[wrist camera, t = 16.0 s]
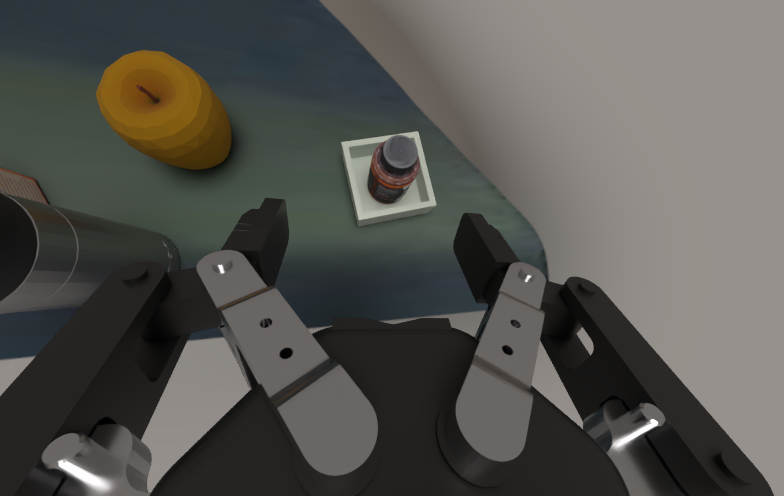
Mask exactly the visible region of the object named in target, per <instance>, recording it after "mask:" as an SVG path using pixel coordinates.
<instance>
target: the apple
mask: <svg viewBox="0 0 784 496" xmlns="http://www.w3.org/2000/svg"><path fill="white" fill-rule="evenodd" d="M96 96H97V100H98V103H99V106H100V110H101V112H102V114H103V116H104V117H105V119H106V120H107V122H108V123H109V125H110V126H111V128H112V129H113V130H114V131H115V132H116V133H117V134H118V135H119V136H120V137H121V138H122V139H123V140H124V141H126V142H127V143H128V144H129V145H130V146H131V147H133V148H135V149H137V150H139V151H140V152H142V153H144V154H146V155H148V156H150V157H152V158H154V159H156V160H158V161H161V162H164V163H167V164H169V165H172V166H176V167H181V168H186V169H191V170H192V169H206V168H211V167H214V166H216V165H218V164H220V163H221V162H223V161H224V160H225V159H226V158H227V157H228V154H229V151H230V148H231V125H230V122H229V118H228V115H227V113H226V111H225V109H224V107H223V105H222V103H221V101H220V100H219V99H218V97H217V96H216V95H215V93H214V92H213V91H212V89H211V88H210V86H209V85H208V84H207V82H206V81H205V80H204V79H203V78H202V77H201V76H200V75H199V74H198V73H196V72H195V71H194V70H192V69H191V68H190V67H188V66H186V65H185V64H183V63H181V62H180V61H178V60H176V59H174V58H173V57H171V56H169V55H168V54H166V53H164V52H158V51H146V50H141V51H137V52H134V53H130V54H127V55H123V56H122V57H121V58H120V59H118V60H117V61H116V62H114V63H113V64H112V65H110V66H109V67H108V68H107V69H105V72H104V74H103V77H102V79H101V82H100V85H99V87H98V90H97V92H96Z"/></svg>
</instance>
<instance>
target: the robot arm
mask: <svg viewBox="0 0 784 496" xmlns="http://www.w3.org/2000/svg"><path fill="white" fill-rule="evenodd" d="M288 239H289V228H288V219H287V209H286V202H285V200H284V199H272V198H265V199H264V201H263V203H262V205H261V207H260V209H251V210H249V211H248V212H246V213H245V214H243V215H242V216H241V218H240V220H239V221H238V224H237V225H236V226H235V228H234V231H232V233H231V234H230V236H229V238H228V239H227V241H226V243H225V244H224V246H223V247H222V249H221V251H217V252H214V253H211V254H209V255H207V256H205V257H204V258H202V259H201V260H200V261H199V262H198V264H197V267H196V268H191V269H186V270H180V271H179V267H180V259H179V255H178V251H177V249H176V248H175V246H174V244H173V243H172V242H171V241H170V240H169V239H167V238H166V237H164V236H163V235H161V234H158V233H156V232H152V231H148V230H145V229H141V228H137V227H134V226H130V225H126V224H122V223H118V222H114V221H111V220H107V219H103V218H99V217H95V216H91V215H88V214H84V213H80V212H76V211H72V210H68V209H65V208H61V207H57V206H53V205H49V204H45V203H42V202H38V201H34V200H29V199H26V198H22V197H18V196H14V195H10V194H6V193H3V192H0V314H4V313H14V312H25V311H36V310H48V309H59V308H70V307H80V308H79V309H78V310H77V312H76V313H75V314H74V315H73V316H72V317H71V318H70V319H69V320H68V322H67V323H66V324H65V325H64V326H63V327H62V328H61V329H60V330H59V332H58V333H57V334H56V335H55V336H54V337H53V338H52V339H51V340H50V342H49V343H48V344H47V345H46V346H45V347H44V348H43V349H42V350H41V352H40V353H39V354H38V355H37V356H36V357H35V358H34V359H33V361H32V362H31V363H30V364H29V365H28V366H27V367H26V368H25V369H24V371H23V372H22V373H21V374H20V375H19V376H18V377H17V378H16V379H15V380H14V382H13V383H12V384H11V385H10V386H9V387H8V388H7V389H6V391H5V392H4V393H3V394H2V395H1V396H0V496H774V495H773V492H772V490H771V488H770V486H769V484H768V483H767V481H766V480H765V478H764V477H763V475H762V474H761V473H760V472H759V470H758V469H757V468H756V467H755V466H754V465H753V463H752V462H751V461H750V460H749V459H748V458H747V457H746V455H745V454H744V453H743V452H742V451H741V450H740V448H739V447H738V446H737V445H736V444H735V443H734V442H733V440H732V439H731V438H730V437H729V436H728V435H727V434H726V432H725V431H724V430H723V429H722V428H721V427H720V425H719V424H718V423H717V422H716V421H715V420H714V419H713V417H712V416H711V415H710V414H709V413H708V412H707V411H706V409H705V408H704V407H703V406H702V405H701V404H700V402H699V401H698V400H697V399H696V398H695V397H694V395H693V394H692V393H691V392H690V391H689V390H688V388H687V387H686V386H685V385H684V384H683V383H682V382H681V380H680V379H679V378H678V377H677V376H676V375H675V374H674V372H672V370H671V369H670V368H669V367H668V365H667V364H666V363H665V362H664V361H663V360H662V359H661V357H660V356H659V355H658V354H657V353H656V352H655V350H654V349H653V348H652V347H651V346H650V345H649V344H648V342H647V341H646V340H645V339H644V338H643V337H642V335H641V334H640V333H639V332H638V331H637V330H636V329H635V327H634V326H633V325H632V324H631V323H630V322H629V321H628V319H627V318H626V317H625V316H624V315H623V314H622V312H621V311H620V310H619V309H618V308H617V307H616V306H615V304H614V303H613V302H612V301H611V300H610V299H609V297H608V296H607V295H606V294H605V293H604V292H603V291H602V290H601V289H600V288H599V287H598V286H597V285H595V284H594V283H592V282H590V281H589V280H586V279H583V278H580V277H570V278H568V279H567V281H566V282H565V284H564V285H560V284H557V283H553V282H549V281H546V279H545V277H544V275H543V274H542V273H541V272H540V271H539V270H538V269H536V268H535V267H533V266H531V265H529V264H526V263H521V262H520V261H519V259H518V258H517V256H516V255H515V254H514V252H513V251H512V249H511V248H510V246H508V244H507V242H506V241H505V240H504V238H503V236H502V235H501V234H500V232H499V231H498V230H497V229H495V228H494V227H493V226H491V225H489V224H488V223H487V221H486V220H485V219H484V217H483V216H482V214H476V213H464V214H463V216H462V218H461V221H460V224H459V227H458V230H457V233H456V236H455V239H454V245H453V248H454V253H455V255H456V257H457V260H458V262H459V264H460V266H461V269H462V271H463V273H464V276H465V278H466V280H467V282H468V285H469V287H470V289H471V292H472V294H473V296H474V299H475V301H476V303H487V304H488V308H487V310H486V312H485V314H484V317H483V319H482V321H481V324H480V326H479V328H478V330H477V333H476V335H475V337H473V336H471V335H469V334H467V333H465V332H463V331H461V330H458V329H455V328H451V325H450V322H449V319H448V318H420V319H416V320H411V321H407V322H403V323H399V324H388V323H384V322H380V321H375V320H371V319H366V318H333V326H332V327H329V328H325V329H323V330H320V331H318V332H315V333H313V334H311V333H310V332H309V330H308V329H307V328H306V327H305V325H304V324H303V323H302V321H301V320H300V319H299V317H298V316H297V315H296V314H295V312H294V311H293V310H292V308H291V307H290V306H289V304H288V303H287V302H286V300H285V299H284V298H283V297H282V295H281V294H280V293H279V291H278V290H277V289H276V288H275V287H274V285H275V282H276V279H277V276H278V273H279V269H280V266H281V263H282V260H283V257H284V254H285V251H286V248H287V244H288ZM217 326H219V328H220V330H221V332H222V334H223V336H224V338H225V339H226V341H227V343H228V345H229V347H230V349H231V351H232V353H233V355H234V357H235V359H236V360H237V363H238V364H239V367H240V369H241V371H242V373H243V376H244V378H245V380H246V382H247V384H248V386H249V388H250V391H249V392H248V393H247V394H246V395H245V396H244V397H243V398H242V399H241V400H240V401H239V402H238V403H237V404H236V405H235V406H234V407H233V408H231V409H230V410H229V412H227V413H226V414H225V415H224V416H223V417H222V418H221V419H220V420H219V421H218V422H217V423H216V424H215V425H214V426H213V427H212V428H211V429H210V430H209V431H208V432H207V433H206V434H205V435H204V436H203V437H202V438H201V439H200V440H199V441H197V442H196V443H195V444H194V445H193V446H192V447H191V448H190V449H189V450H188V451H187V452H186V453H185V454H184V455H183V456H182V457H181V458H180V459H179V460H178V461H177V462H176V463H175V464H174V465H173V466H172V467H171V468H170V469H169V470H168V471H167V472H166V473H165V475H164V476H163V477H162V478H161V480H160V481H159V482H158V483H157V485H156V486H155V488H154V489H153V491H152V492H151V493H148V490H147V478H148V474H149V470H150V467H151V460H152V458H151V452H150V450H149V448H148V447H147V446H146V445H145V444H144V443H143V442H141V439H142V437H143V434H144V432H145V430H146V428H147V426H148V424H149V422H150V419H151V417H152V415H153V413H154V411H155V409H156V406H157V404H158V402H159V400H160V398H161V396H162V394H163V392H164V389H165V387H166V385H167V383H168V380H169V378H170V377H171V374H172V372H173V370H174V368H175V366H176V363H177V362H178V359H179V357H180V355H181V353H182V351H183V349H184V346H185V344H186V342H187V340H188V338H189V336H190V334H191V333H193V332H197V331H201V330H205V329H209V328H213V327H217ZM582 327H583V328H584V329H585V331H586V332H587V334H588V335H589V337H590V338H591V340H592V342H593V345H594V351H593V353H592V355H591V356H590V354H589V353H588V351H587V350H586V348H585V347H584V345H583V344H582V342H581V341H580V339H579V338H578V336H577V332H578V331H579V330H580V329H581V328H582ZM539 341H541V343H542V344H543V346H544V348H545V350H546V352H547V354H548V356H549V358H550V360H551V361H552V364H553V365H554V367H555V369H556V371H557V373H558V375H559V377H560V379H561V381H562V382H563V384H564V386H565V388H566V390H567V392H568V394H569V396H570V398H571V400H572V402H573V403H574V405H575V407H576V409H577V411H578V413H579V415H580V417H581V419H582V421H583V429H582V428H581V427H580V426H578V425H577V424H576V423H575V422H574V421H572V420H571V419H570V418H569V417H568V416H567V415H565V414H564V413H563V412H562V411H561V410H560V409H558V408H557V407H556V406H555V405H554V404H553V403H551V402H550V401H549V400H548V399H547V398H546V397H544V396H543V395H542V394H541V393H540V392H539V391H537V390H536V389H535V388H534V387H533V386H532V385H531V383H532V377H533V373H534V368H535V362H536V357H537V352H538V347H539Z"/></svg>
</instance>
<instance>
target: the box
mask: <svg viewBox="0 0 784 496" xmlns="http://www.w3.org/2000/svg"><path fill="white" fill-rule="evenodd" d="M396 135H404V136H407V137H409V138H410V139H411V140H413V142H414V143H415V144H416V146H417V149H418V156H419V160H420V168H419V172H418V174H417V176H416V178H415V179H414V181H413V182H412V184H411V185H410V187H409V188H408V190H407V191H406V193H405V195H404V196H403V197H402V198H401V199H400V200H399V201H397V202H395V203H392V204H384V203H380V202H378V201H377V200H375V199H374V198H373V197H372V196H371V194H370V193H369V190H368V186H367V181H368V175H369V170H370V165H371V160H372V156H373V153H374V151H375V149H376V148H377V147H378V146H379V145H380V144H381V143H382V142H384V141H386V140H388V139H389V138H390V137H392V136H395V135H389V136H382V137H375V138H368V139H361V140H354V141H347V142H341V144H342V159H343V163H344V168H345V172H346V177H347V181H348V186H349V190H350V194H351V199H352V203H353V208H354V212H355V217H356V221H357V226H358V227H360V226H365V225H370V224H375V223H380V222H385V221H390V220H395V219H400V218H405V217H410V216H415V215H421V214H426V213H428V212H429V211H430V210H432V209H433V208H434V207H435V206H436V202H435V198H434V193H433V189H432V185H431V181H430V177H429V173H428V169H427V165H426V161H425V157H424V153H423V149H422V145H421V141H420V137H419V133H418V132H411V133H404V134H396Z"/></svg>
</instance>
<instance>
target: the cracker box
mask: <svg viewBox="0 0 784 496" xmlns="http://www.w3.org/2000/svg"><path fill="white" fill-rule="evenodd" d="M0 192H3V193H6V194H10V195H14V196H18V197H22V198H26V199H29V200H34V201H38V202H42V203H45V204H48V203H47V201H46V199H45V197H44V195H43V194H42V192H41V190H40V188H39V186H38V185H37V183H36V181H35V179H33V178H30V177H27V176H24V175H21V174H18V173H15V172H12V171H9V170H6V169H3V168H0Z"/></svg>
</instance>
